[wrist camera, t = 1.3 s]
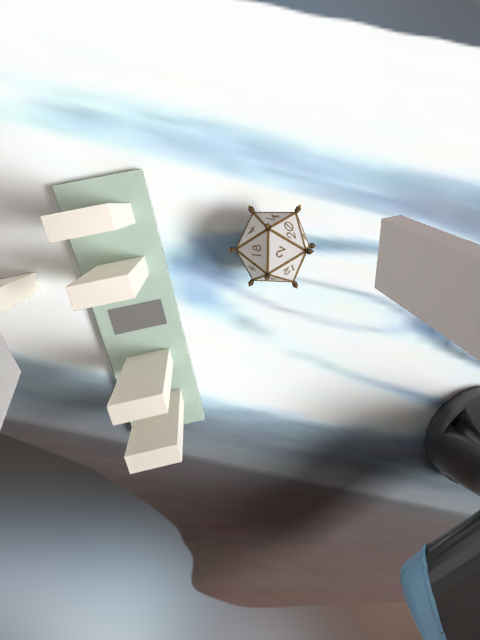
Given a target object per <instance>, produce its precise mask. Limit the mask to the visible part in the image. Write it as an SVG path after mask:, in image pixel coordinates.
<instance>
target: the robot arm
mask: <svg viewBox="0 0 480 640" xmlns="http://www.w3.org/2000/svg"><path fill="white" fill-rule="evenodd" d="M375 288H376V289H377V290H379V291H380V292H382V293H383V294H384V295H386V296H387V297H389V298H390V299H392V300H393V301H395V302H396V303H397V304H399V305H400V306H402V307H403V308H405V309H406V310H408V311H409V312H410V313H412V314H413V315H415V316H416V317H418V318H419V319H421V320H422V321H423V322H425V323H426V324H428V325H429V326H431V327H432V328H434V329H435V330H436V331H438V332H439V333H441V334H442V335H444V336H445V337H446V338H448V339H449V340H451V341H452V342H454V343H455V344H457V345H458V346H459V347H461V348H462V349H464V350H465V351H467V352H468V353H470V354H471V355H472V356H474V357H475V358H477V359H478V360H480V245H479V244H476V243H474V242H471V241H468V240H466V239H463V238H460V237H458V236H455V235H452V234H450V233H447V232H444V231H442V230H439V229H436V228H434V227H431V226H428V225H425V224H423V223H420V222H417V221H415V220H412V219H409V218H407V217H404V216H401V215H398V216H393V217H388V218H383V219H382V221H381V231H380V240H379V250H378V260H377V269H376V279H375ZM20 374H21V371H20V369H19V367H18V365H17V363H16V361H15V359H14V358H13V356H12V354H11V352H10V350H9V348H8V346H7V344H6V342H5V340H4V339H3V337H2V335H1V333H0V430H1V427H2V424H3V421H4V418H5V416H6V413H7V410H8V407H9V405H10V402H11V399H12V396H13V393H14V391H15V388H16V385H17V382H18V380H19V377H20ZM426 451H427V455H428V457H429V459H430V461H431V462H432V463H433V465H434V466H435V467H436V468H437V469H438V470H439V471H440V472H441V473H442V474H443V475H444V476H445V477H447V478H448V479H449V480H451V481H453V482H455V483H457V484H460V485H462V486H464V487H465V488H467V489H469V490H470V491H472V492H474V493H476V494H477V495H479V496H480V387H475V388H471V389H469V390H466V391H464V392H462V393H460V394H458V395H456V396H455V397H453V398H452V399H450V400H449V401H448V402H447V403H446V404H444V405H443V406H442V407H441V409H440V410H439V411H438V412H437V413H436V415H435V416H434V418H433V420H432V421H431V423H430V426H429V428H428V431H427V435H426ZM400 578H401V584H402V589H403V592H404V596H405V599H406V601H407V604H408V606H409V609H410V612H411V614H412V616H413V618H414V621H415V623H416V625H417V627H418V629H419V632H420V634H421V636H422V638H423V640H480V510H479V511H477V512H476V513H474V514H473V515H471V516H470V517H469V518H467V519H466V520H464V521H463V522H461V523H460V524H458V525H457V526H455V527H454V528H452V529H451V530H449V531H448V532H446V533H445V534H443V535H442V536H440V537H439V538H437V539H435V540H434V541H432V542H431V543H429V544H425V545H423V547H422V549H421V550H420V551H419V552H417V553H416V554H415V555H414V556H412V557H411V558H410V559H408V560H407V561H406V562H405V563H404V564H403V566H402V568H401V574H400Z"/></svg>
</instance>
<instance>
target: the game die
mask: <svg viewBox="0 0 480 640" xmlns="http://www.w3.org/2000/svg"><path fill="white" fill-rule="evenodd" d="M300 210H301V205H299V206H297V207H296V209H295V212H254V209H253V207H251V206H250V205H249V211H250V212H251V213H252V215H251V217H250V219H249V221H248V223H247V225H246V227H245V230H244V232H243V234H242V236H241V238H240V240H239V242H238V244H237V247H236V248H234V247H230V248H229V249H228V251H230V252H231V253H232V252H235V251H236V252H237V254H238V255H239V257H240V259H241V261H242V262H243V264H244V266H245V268H246V269H247V271H248V273H249V275H250V276H251V278H252V279H251V280H250V281H249V282H248V283H249V286H251V285H253V283H254V281H276V282H292V285H293V287H295V288H297V286H298V284H297V282H295V278H296V276H297V274H298V271H299V269H300V267H301V264H302V262H303V260H304V258H305V255H306V253H307V254H311V253H312V252H314V251H313V250H312V249H309V248H314V247H315V246H316V245H315V244H313V243H312V244H311V243H310V244H309V243H308V241H307V238H306V236H305V233H304V231H303V228H302V225H301V223H300V220H299V218H298V215H297V213H298V212H299V211H300Z"/></svg>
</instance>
